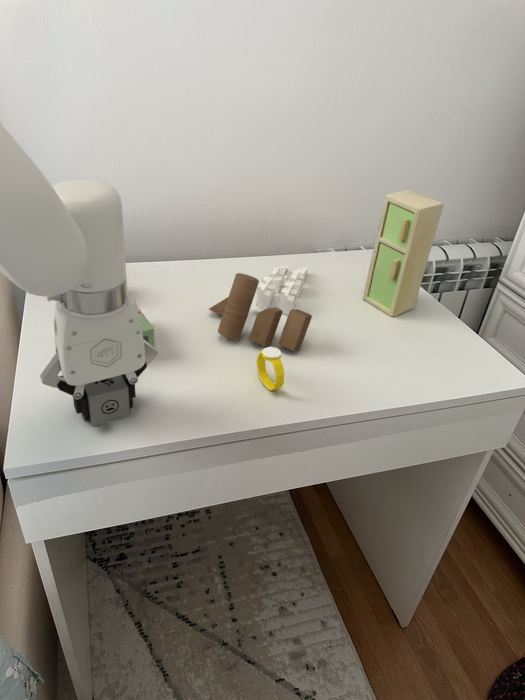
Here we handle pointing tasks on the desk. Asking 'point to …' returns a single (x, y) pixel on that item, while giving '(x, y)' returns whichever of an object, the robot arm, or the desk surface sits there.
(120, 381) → the dice cube
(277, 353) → the watch
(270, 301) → the modular blocks
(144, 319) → the green cube
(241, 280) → the wooden block set
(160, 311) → the desk surface
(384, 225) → the toy refrigerator
